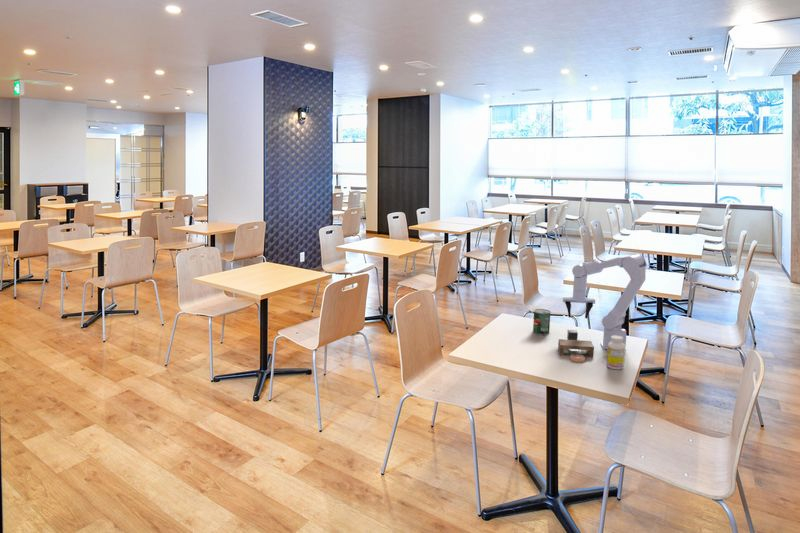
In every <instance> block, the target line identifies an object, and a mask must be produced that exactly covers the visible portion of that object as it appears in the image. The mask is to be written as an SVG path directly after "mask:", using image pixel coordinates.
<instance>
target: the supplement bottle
mask: <svg viewBox="0 0 800 533" xmlns="http://www.w3.org/2000/svg"><path fill="white" fill-rule="evenodd" d="M625 349H626V347H625V344H624V343H623V337H621V336H616V335H614V336H611V342H609V343H608V349H607V350H606V366H607V367H608V368H609V369H612V370H622V369H623V368H624V366H625V365H624V364H625V356H626V355H625V354H626V350H625Z"/></svg>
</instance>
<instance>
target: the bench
mask: <svg viewBox="0 0 800 533" xmlns="http://www.w3.org/2000/svg"><path fill="white" fill-rule="evenodd" d="M557 346H558V347H557V348H558V349H557V350H558V353H559V355H560V356H564V355H565V354H564V353H565V350H568V349H576V350H581V351H586V352H587V355H588V356H589V358H594V354H595V353H594V352H595V346H594V344H593V341H592V340H580V339H577V340H567V339H565V338H564V339H563V338H562V339H561V338H560V339H558V343H557Z"/></svg>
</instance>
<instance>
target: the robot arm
mask: <svg viewBox="0 0 800 533" xmlns="http://www.w3.org/2000/svg"><path fill="white" fill-rule="evenodd" d="M647 265H648V263H647V262H646V258H645V257H644V256H643V255H641V254H637V253H635V254H634V255H632V254H631V255H624V256H619V257H615V258H611V259H607V260H604V261H601V260H599V259H592V260H591V261H587V262H585V261H584V262H582V263H581V264H577V265H574V266H573V267H572V270H571V272H572V275H573V287H572V289H573V290H572V296H569V297H566V296H565V297H562V302H563V303H564V304H565V307H566V309H567V315H568V318H571V313H572V312H571V310H572V309H571V308H572V303H579V304H585V315H584V318H585V319H588V316H589V314H590V312H591V309H592V308H593V306H594V304H595V305H596V299H595V298H589V297H587V296H586V294H587V283H588V282H587V279H588V276H590V275H594V274H599V273H602V272H603V270H604V269H607V268H612V267H616V266H617V267H619V268H623V269H624V270H625V272H626V273H627V275H629V278H630V280H629V282H628V284H627V285H626V287H625V288H624V290H623V292H622V294H621V295H620V297H619V299H618V300H617V301H616V303H615V305H614V307H613V308H611V310H610V311H609V312H608V314H607V315H605V316H603V318H602V319H601V320H602V321H601V325H602V326H603V338H602V342H600V345H601V347H602V349H603V350H608V343H609V342H611V336H614V335H616V336H621V337H623V343H624V344H625V351H627V350H626V348H627V347H626V346H627V345H626V344H627V330H626V329H625V328H622V326H623V324H624V323H625V318H626V317H625V316H626V315H627V313H626V312H627V310H628V309H629V307H630V305H631V304H632V302H633V301H634V299H635V297H636V296H637V294H638V293H639V291H640V289H642V288H641V287H642V286H643V284H644V283H645V281H646V270H647V269H646V267H647Z"/></svg>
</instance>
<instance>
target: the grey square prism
mask: <svg viewBox="0 0 800 533" xmlns="http://www.w3.org/2000/svg"><path fill="white" fill-rule="evenodd" d="M578 334H579V332H578V331H577V330H576V329H567V335H566V336H567V337H566V340H578ZM567 350H568V353H569V355H574V354H577V355H582V356H583V353H582V350H576V349H567Z"/></svg>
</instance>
